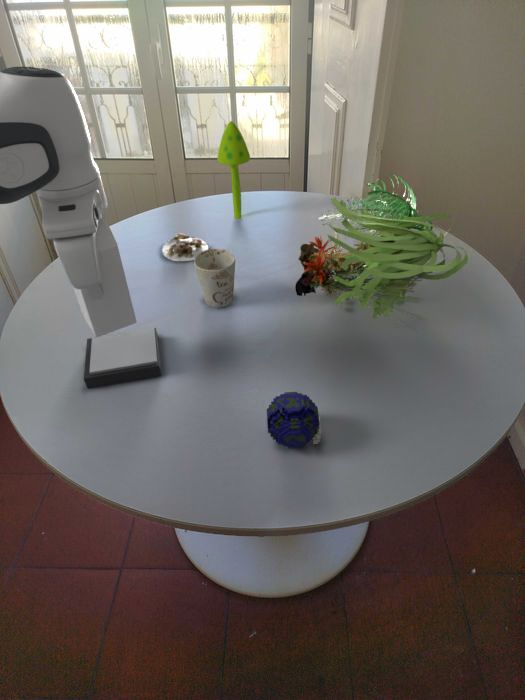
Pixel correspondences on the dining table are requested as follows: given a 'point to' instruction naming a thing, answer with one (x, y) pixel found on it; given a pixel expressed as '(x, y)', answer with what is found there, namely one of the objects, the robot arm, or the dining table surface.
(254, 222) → the dining table surface
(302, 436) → the ball
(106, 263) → the milk carton
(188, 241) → the plate of food scraps
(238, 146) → the mushroom
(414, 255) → the plant
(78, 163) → the robot arm
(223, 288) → the mug
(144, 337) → the scale
